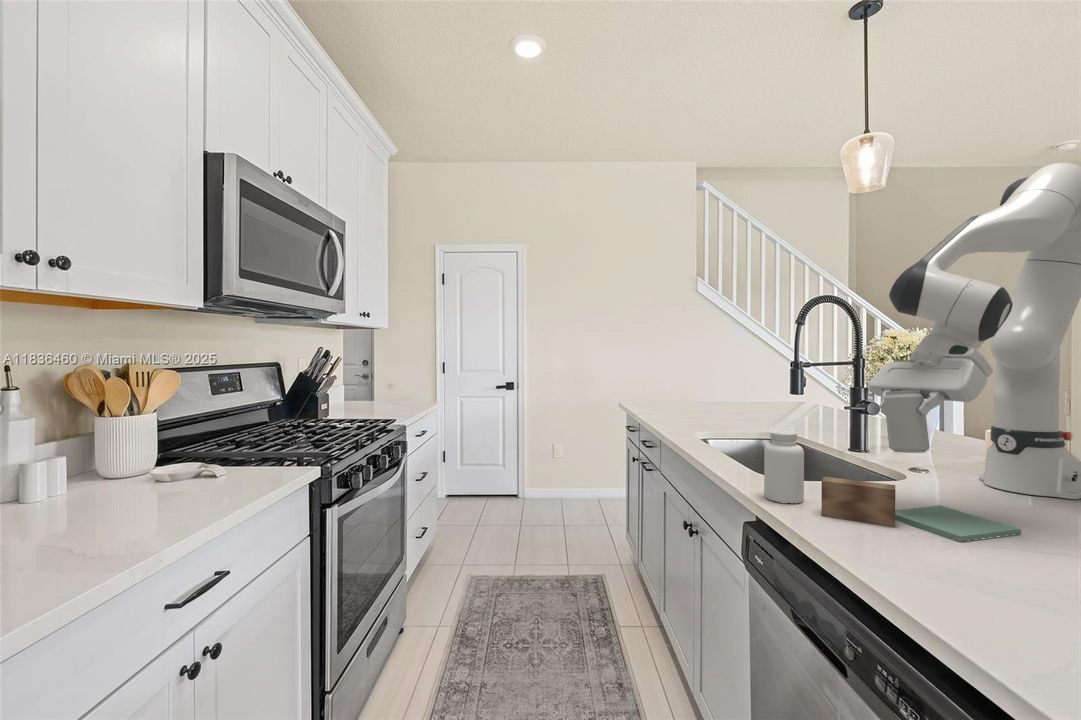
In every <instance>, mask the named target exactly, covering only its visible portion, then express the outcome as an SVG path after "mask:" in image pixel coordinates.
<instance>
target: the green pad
mask: <svg viewBox="0 0 1081 720" xmlns="http://www.w3.org/2000/svg"><path fill="white" fill-rule="evenodd" d="M895 521H898V522H901V523H904V524H906V525H910V526H913V527H916V528H918V529H921V530H924V531H926V530H927V532H929V531H930V533H932V532H933V533H932V534H935V533H936V534H935V535H938V534H939V536H941V535H942V536H941V537H944V536H945V537H944V538H947V537H948V538H947V539H949V538H951V539H950V540H952V539H954V540H953V541H955V540H956V542H958V541H960V542H959V543H963V542H962V541H967V542H969V541H968V540H975V539H982V538H989V537H997V536H1006V535H1013V534H1021V535H1022V529H1021V528H1019V527H1016V526H1012V525H1009V524H1005V523H1002V522H999V521H995V520H992V519H988V518H985V517H982V516H978V515H975V514H971V513H967V512H964V511H960V510H958V509H955V508H954V509H953V508H950V507H947V506H943V505H931V506H930V505H929V506H922V507H913V508H905V509H904V508H902V509H895ZM1013 536H1014V535H1013ZM1006 537H1007V536H1006ZM975 541H976V540H975Z"/></svg>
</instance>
